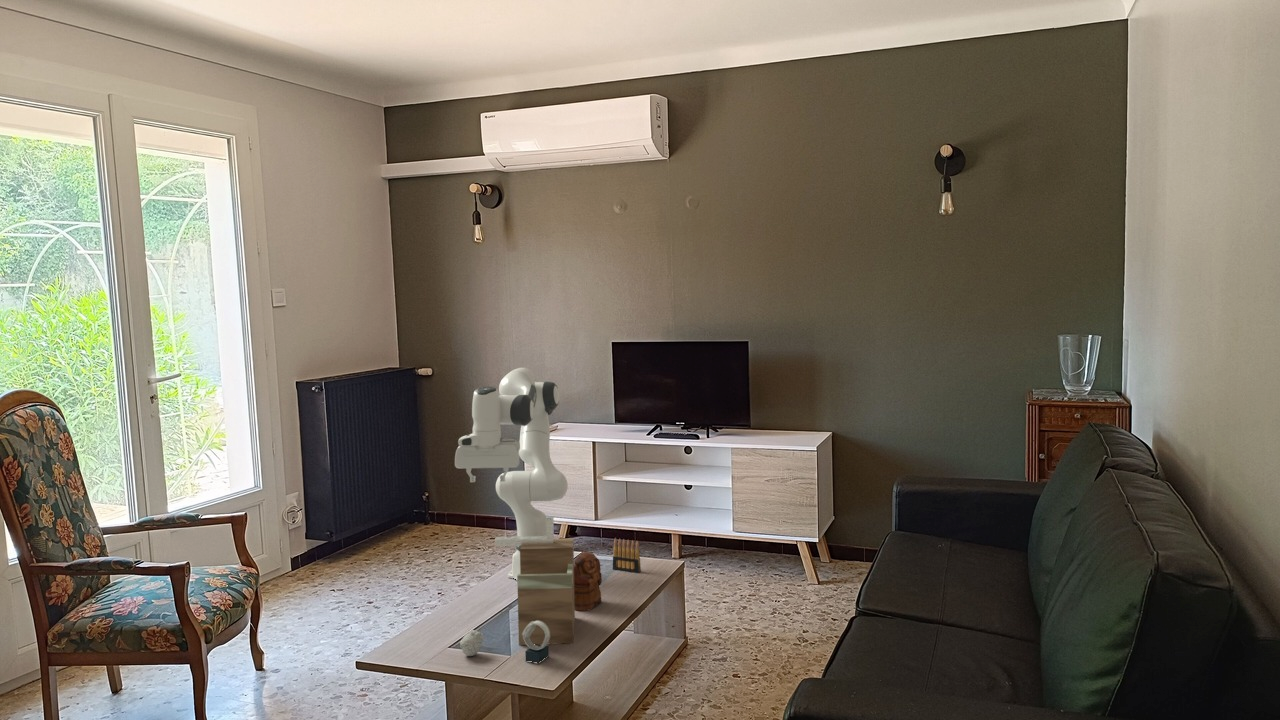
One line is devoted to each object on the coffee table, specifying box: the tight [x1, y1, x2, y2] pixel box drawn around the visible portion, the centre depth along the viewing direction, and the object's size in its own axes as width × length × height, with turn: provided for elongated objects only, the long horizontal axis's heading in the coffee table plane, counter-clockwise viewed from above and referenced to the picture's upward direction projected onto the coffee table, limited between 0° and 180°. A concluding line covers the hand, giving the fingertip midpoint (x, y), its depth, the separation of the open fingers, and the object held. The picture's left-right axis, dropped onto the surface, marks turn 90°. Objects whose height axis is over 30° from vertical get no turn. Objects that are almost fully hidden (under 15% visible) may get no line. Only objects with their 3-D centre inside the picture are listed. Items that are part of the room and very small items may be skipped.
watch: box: [522, 620, 550, 663], centre depth 250 cm, size 6×8×11 cm
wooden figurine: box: [574, 551, 603, 611], centre depth 291 cm, size 12×6×18 cm, turn 148°
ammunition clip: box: [612, 537, 642, 574], centre depth 325 cm, size 11×2×12 cm, turn 67°
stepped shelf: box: [516, 537, 576, 646], centre depth 270 cm, size 20×16×26 cm
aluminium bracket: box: [494, 516, 555, 547], centre depth 273 cm, size 3×18×8 cm, turn 93°
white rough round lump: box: [459, 629, 484, 657], centre depth 254 cm, size 6×7×7 cm
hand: (487, 481), depth 280 cm, fingers open, 8 cm apart
